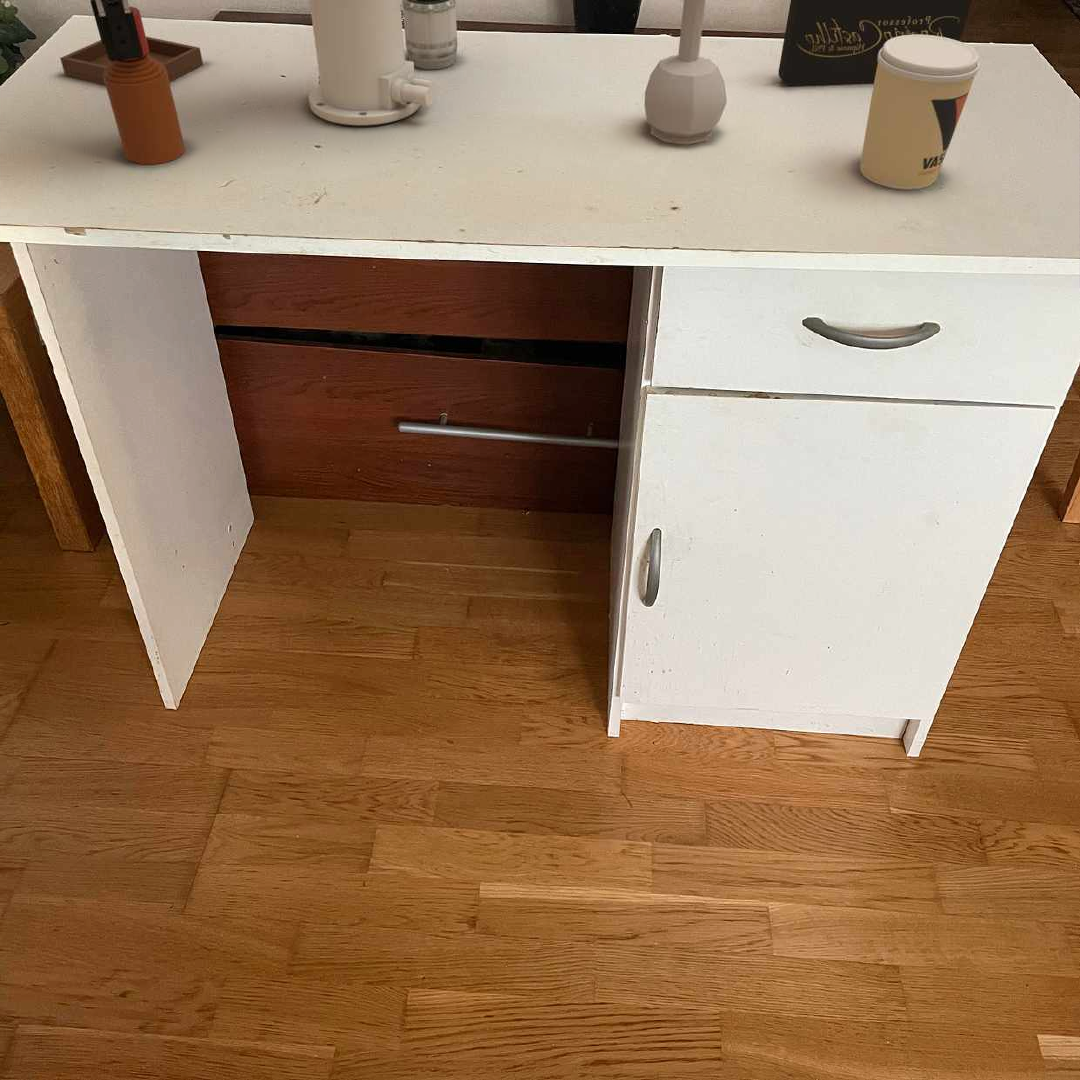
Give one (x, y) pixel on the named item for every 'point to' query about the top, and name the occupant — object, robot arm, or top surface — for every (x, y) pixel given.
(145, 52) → the cap
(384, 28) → the robot arm
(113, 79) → the bottle
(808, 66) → the nameplate
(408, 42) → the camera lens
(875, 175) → the coffee cup
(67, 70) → the tray
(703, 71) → the potion bottle
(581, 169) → the top surface
